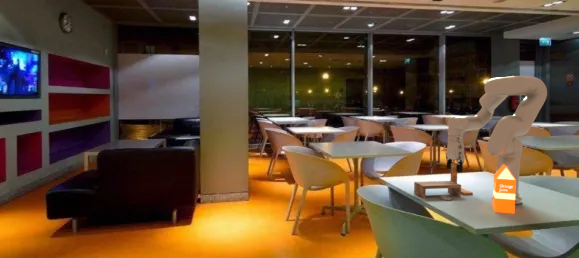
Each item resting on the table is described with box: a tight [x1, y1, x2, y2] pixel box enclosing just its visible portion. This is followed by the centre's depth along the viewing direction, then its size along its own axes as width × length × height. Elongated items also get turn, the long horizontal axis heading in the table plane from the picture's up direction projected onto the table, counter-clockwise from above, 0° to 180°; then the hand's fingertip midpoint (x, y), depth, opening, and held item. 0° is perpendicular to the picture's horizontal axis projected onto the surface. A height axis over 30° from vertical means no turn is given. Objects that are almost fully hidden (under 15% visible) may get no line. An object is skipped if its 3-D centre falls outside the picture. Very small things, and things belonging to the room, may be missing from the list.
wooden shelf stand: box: [413, 180, 462, 199], centre depth 206 cm, size 10×20×6 cm, turn 98°
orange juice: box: [491, 164, 516, 215], centre depth 178 cm, size 8×9×20 cm
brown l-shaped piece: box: [449, 162, 474, 196], centre depth 214 cm, size 15×5×14 cm, turn 9°
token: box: [440, 195, 452, 202], centre depth 198 cm, size 5×5×2 cm
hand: (454, 170), depth 219 cm, fingers open, 9 cm apart
